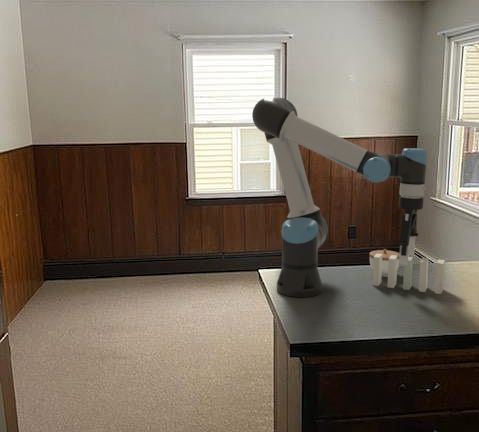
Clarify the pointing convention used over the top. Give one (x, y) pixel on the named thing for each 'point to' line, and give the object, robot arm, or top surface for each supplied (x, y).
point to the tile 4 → (423, 274)
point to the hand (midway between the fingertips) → (406, 259)
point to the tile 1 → (377, 269)
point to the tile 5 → (439, 276)
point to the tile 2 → (392, 271)
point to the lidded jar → (384, 260)
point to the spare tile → (408, 274)
